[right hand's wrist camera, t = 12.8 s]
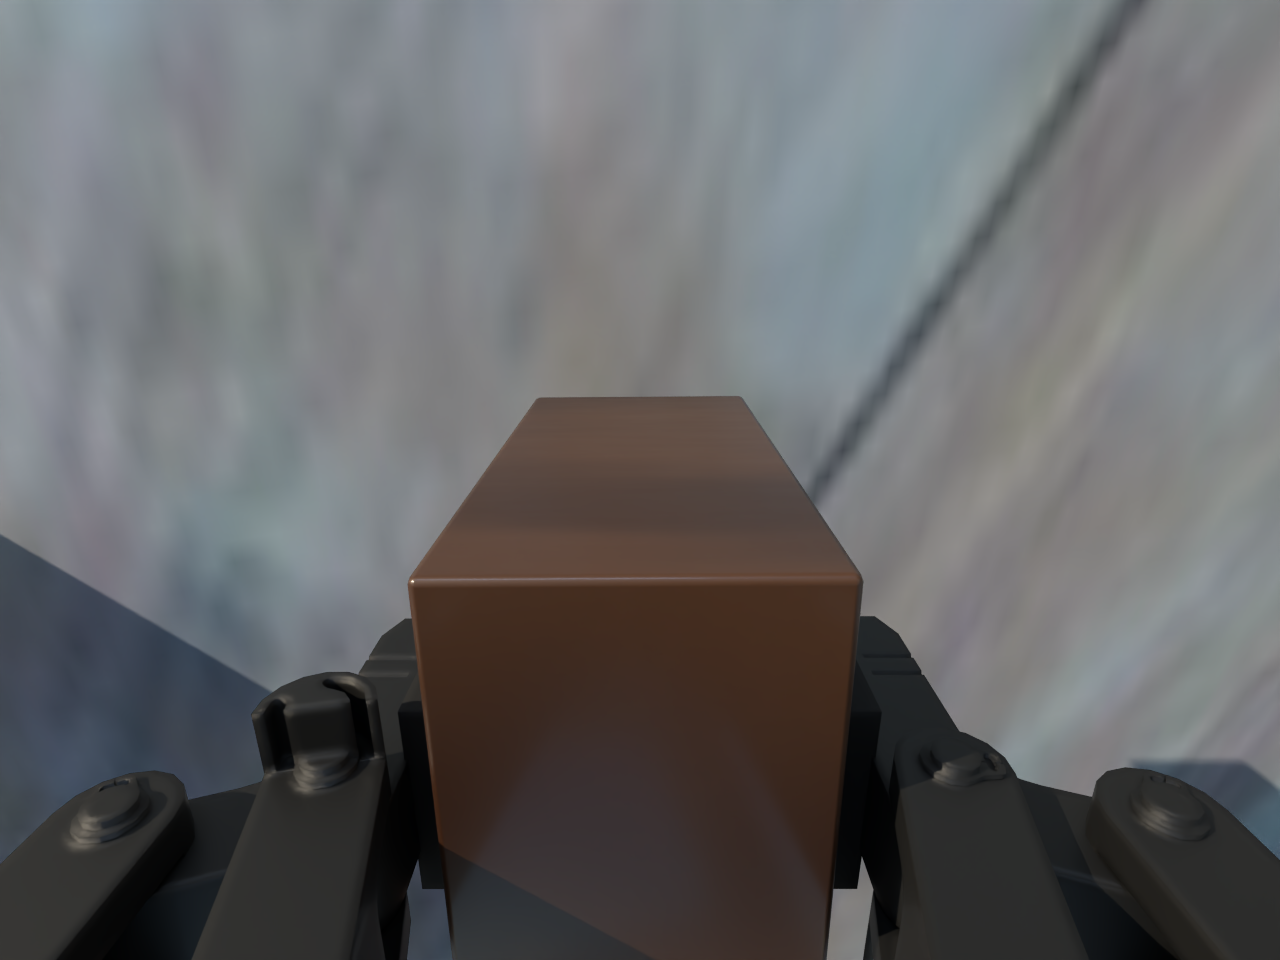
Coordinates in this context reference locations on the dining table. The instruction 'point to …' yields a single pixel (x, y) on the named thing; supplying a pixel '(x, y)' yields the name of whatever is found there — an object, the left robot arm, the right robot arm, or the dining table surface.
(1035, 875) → the right robot arm
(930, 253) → the dining table surface
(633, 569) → the walnut beam
